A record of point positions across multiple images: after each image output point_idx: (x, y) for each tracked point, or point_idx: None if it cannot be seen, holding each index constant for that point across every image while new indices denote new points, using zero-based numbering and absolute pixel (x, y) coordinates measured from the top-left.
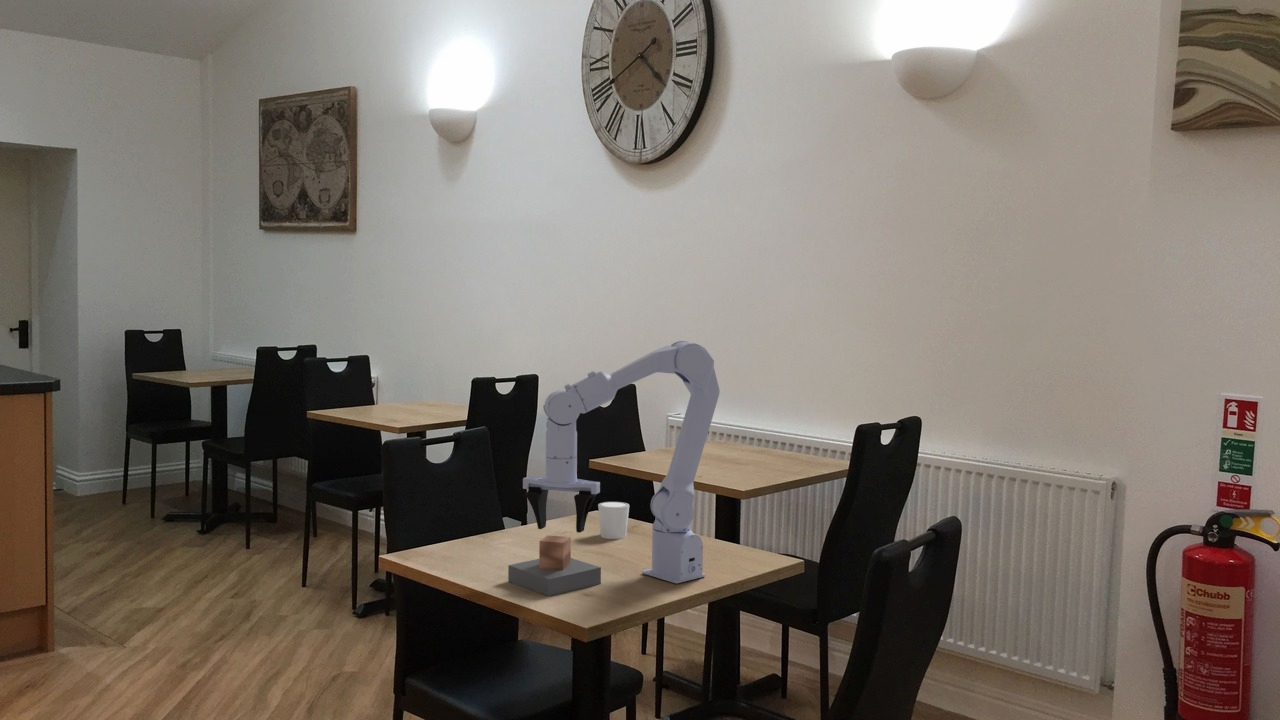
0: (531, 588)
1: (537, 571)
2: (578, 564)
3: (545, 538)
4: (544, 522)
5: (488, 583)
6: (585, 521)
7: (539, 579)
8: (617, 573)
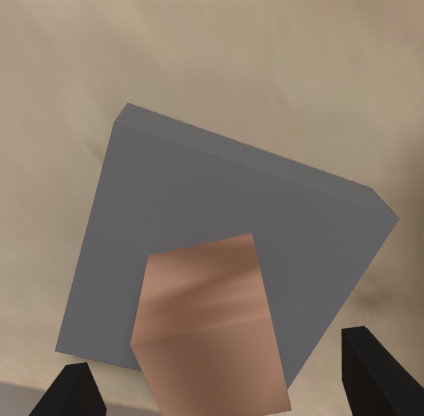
0: None
1: None
2: (289, 226)
3: (164, 392)
4: (82, 404)
5: (38, 346)
6: (402, 370)
7: None
8: (391, 12)
